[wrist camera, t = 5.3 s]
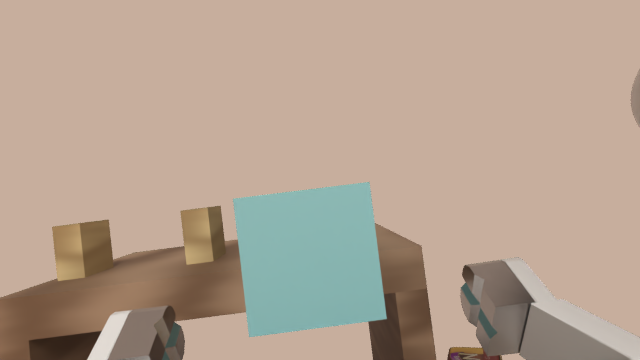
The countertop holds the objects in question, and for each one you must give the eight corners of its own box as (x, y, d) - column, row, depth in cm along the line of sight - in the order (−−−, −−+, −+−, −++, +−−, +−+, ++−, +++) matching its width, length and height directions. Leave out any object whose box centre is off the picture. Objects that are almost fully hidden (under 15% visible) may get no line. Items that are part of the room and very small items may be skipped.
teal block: (334, 228, 31) (329, 189, 31) (386, 318, 9) (369, 182, 9) (294, 233, 31) (290, 194, 31) (249, 337, 9) (233, 198, 9)
